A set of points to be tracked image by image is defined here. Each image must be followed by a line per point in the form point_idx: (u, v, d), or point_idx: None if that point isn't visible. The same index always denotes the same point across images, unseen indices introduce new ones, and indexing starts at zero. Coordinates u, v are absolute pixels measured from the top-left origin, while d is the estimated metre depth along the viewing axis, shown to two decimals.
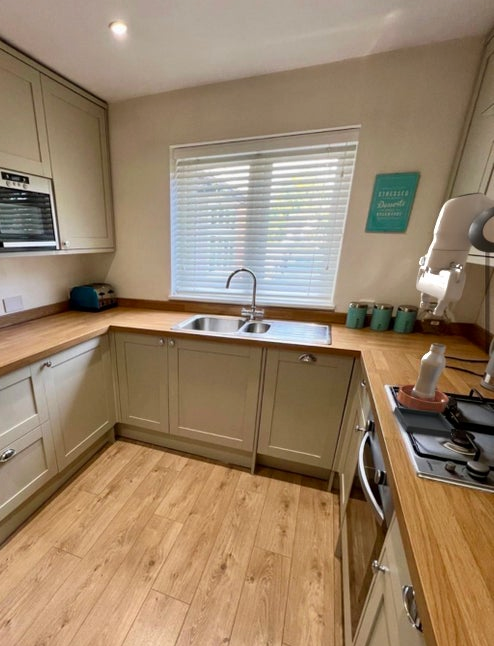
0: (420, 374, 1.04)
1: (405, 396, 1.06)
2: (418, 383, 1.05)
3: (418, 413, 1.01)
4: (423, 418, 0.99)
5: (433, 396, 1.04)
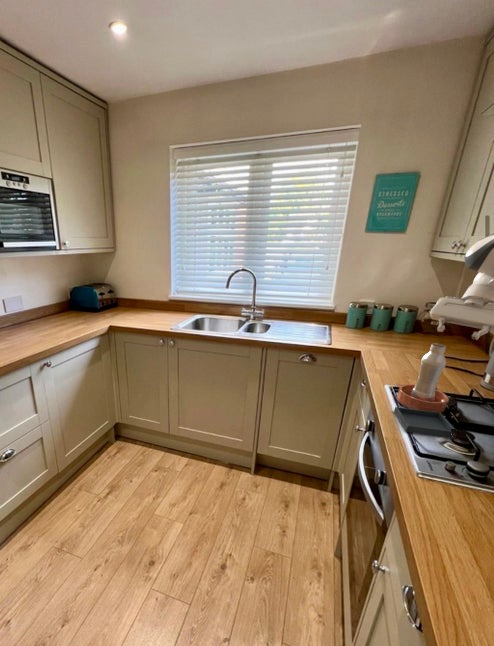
0: (420, 374, 1.04)
1: (405, 396, 1.06)
2: (418, 383, 1.05)
3: (418, 413, 1.01)
4: (423, 418, 0.99)
5: (433, 396, 1.04)
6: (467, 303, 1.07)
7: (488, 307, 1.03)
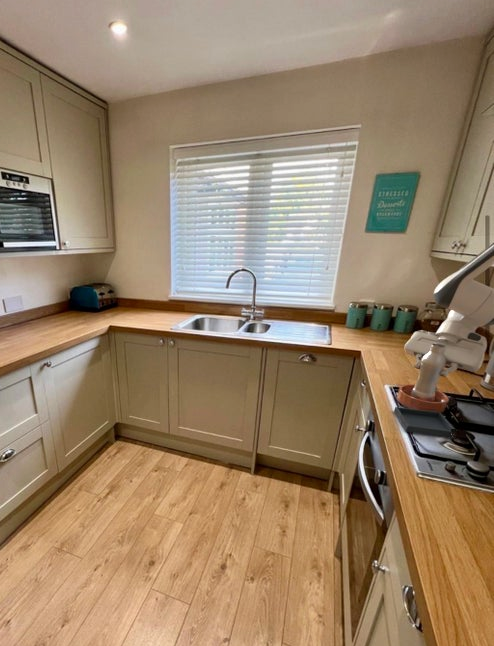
0: (420, 374, 1.04)
1: (405, 396, 1.06)
2: (418, 383, 1.05)
3: (418, 413, 1.01)
4: (423, 418, 0.99)
5: (433, 396, 1.04)
6: (440, 340, 1.04)
7: (461, 345, 1.00)
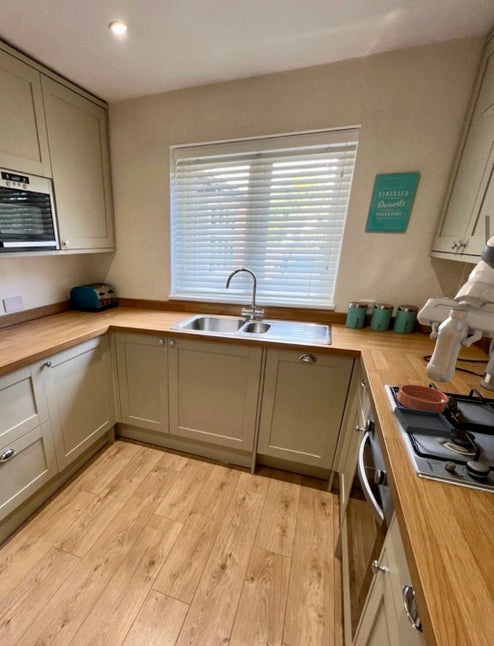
0: (437, 345, 0.89)
1: (405, 396, 1.06)
2: (435, 356, 0.90)
3: (418, 413, 1.01)
4: (423, 418, 0.99)
5: (453, 371, 0.89)
6: (460, 305, 0.89)
7: (486, 309, 0.85)
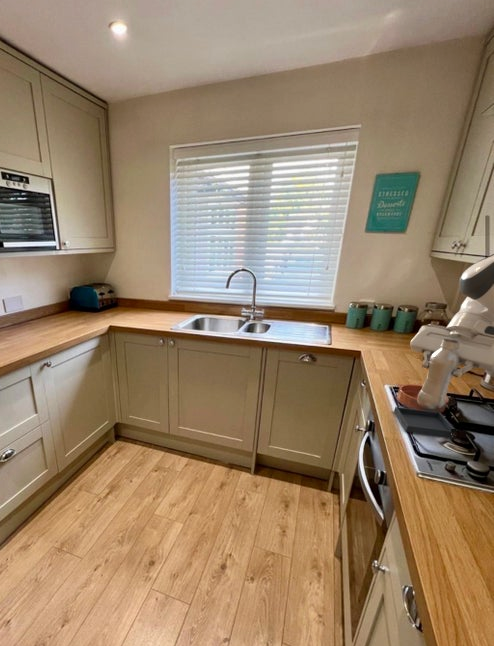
0: (429, 374, 0.91)
1: (405, 396, 1.06)
2: (427, 385, 0.92)
3: (418, 413, 1.01)
4: (423, 418, 0.99)
5: (444, 399, 0.90)
6: (452, 334, 0.90)
7: (477, 340, 0.86)
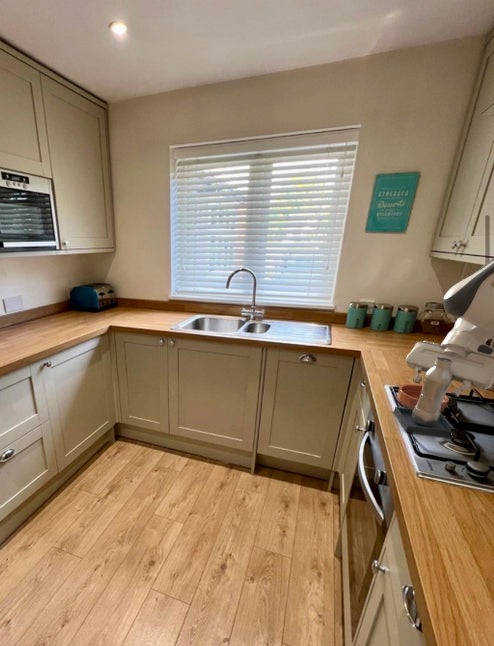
0: (423, 391, 0.93)
1: (405, 396, 1.06)
2: (421, 401, 0.94)
3: None
4: None
5: (438, 416, 0.92)
6: (446, 352, 0.92)
7: (470, 358, 0.88)
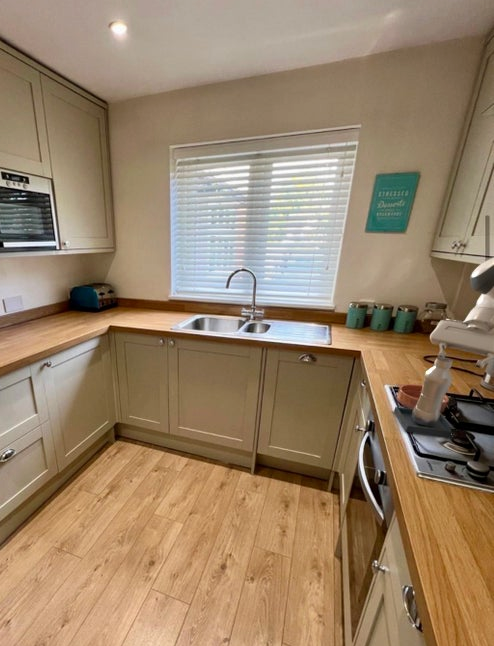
0: (423, 391, 0.93)
1: (405, 396, 1.06)
2: (421, 401, 0.94)
3: None
4: None
5: (438, 416, 0.92)
6: (470, 328, 0.98)
7: (493, 333, 0.94)
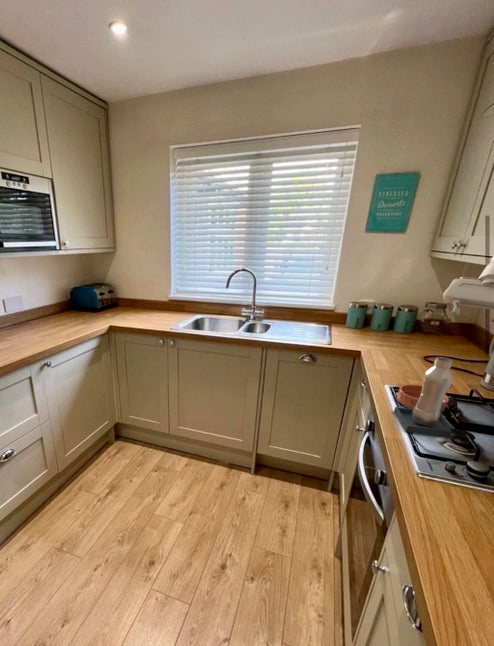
0: (423, 391, 0.93)
1: (405, 396, 1.06)
2: (421, 401, 0.94)
3: None
4: None
5: (438, 416, 0.92)
6: (485, 283, 0.96)
7: None
